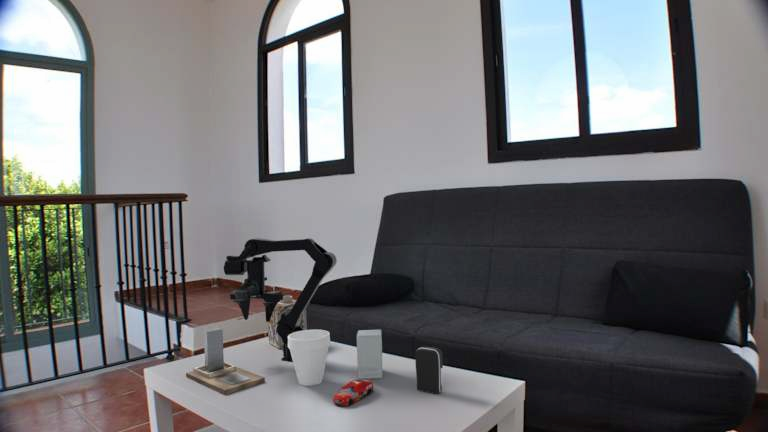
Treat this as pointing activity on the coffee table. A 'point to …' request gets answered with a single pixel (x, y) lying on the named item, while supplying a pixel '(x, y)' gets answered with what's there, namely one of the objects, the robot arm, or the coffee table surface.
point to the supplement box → (369, 354)
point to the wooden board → (225, 378)
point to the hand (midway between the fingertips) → (256, 320)
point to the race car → (353, 392)
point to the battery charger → (429, 369)
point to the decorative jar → (276, 315)
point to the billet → (213, 349)
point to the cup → (309, 354)
